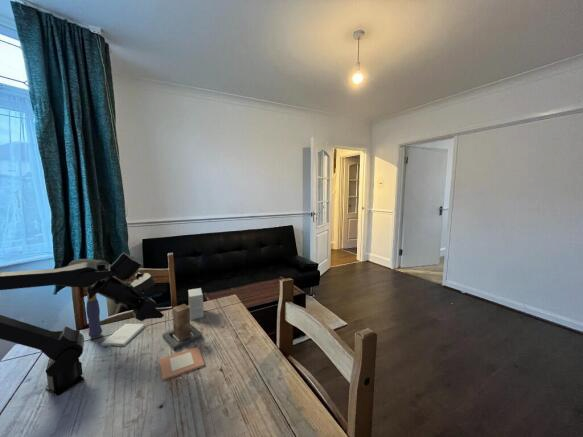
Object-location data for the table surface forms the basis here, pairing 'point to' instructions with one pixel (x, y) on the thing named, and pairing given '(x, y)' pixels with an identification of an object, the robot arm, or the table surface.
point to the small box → (195, 303)
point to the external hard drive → (123, 335)
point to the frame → (184, 342)
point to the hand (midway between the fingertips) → (158, 311)
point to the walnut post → (181, 322)
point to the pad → (181, 363)
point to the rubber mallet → (92, 303)
